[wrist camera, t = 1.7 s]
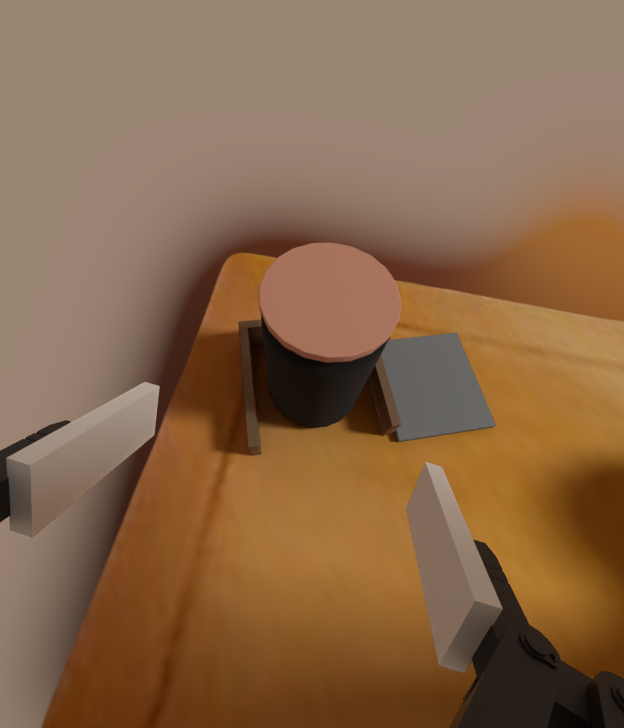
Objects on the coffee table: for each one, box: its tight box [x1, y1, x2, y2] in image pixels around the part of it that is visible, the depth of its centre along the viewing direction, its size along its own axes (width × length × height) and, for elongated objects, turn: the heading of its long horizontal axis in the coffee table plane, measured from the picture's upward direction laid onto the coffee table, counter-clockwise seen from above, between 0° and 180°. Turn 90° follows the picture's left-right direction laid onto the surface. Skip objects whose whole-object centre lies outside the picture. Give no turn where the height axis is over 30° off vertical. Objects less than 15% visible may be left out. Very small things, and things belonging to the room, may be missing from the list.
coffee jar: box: [259, 243, 401, 428], centre depth 32 cm, size 11×11×18 cm
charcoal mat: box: [381, 333, 496, 442], centre depth 41 cm, size 12×13×1 cm
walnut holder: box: [238, 320, 402, 456], centre depth 39 cm, size 16×15×4 cm
